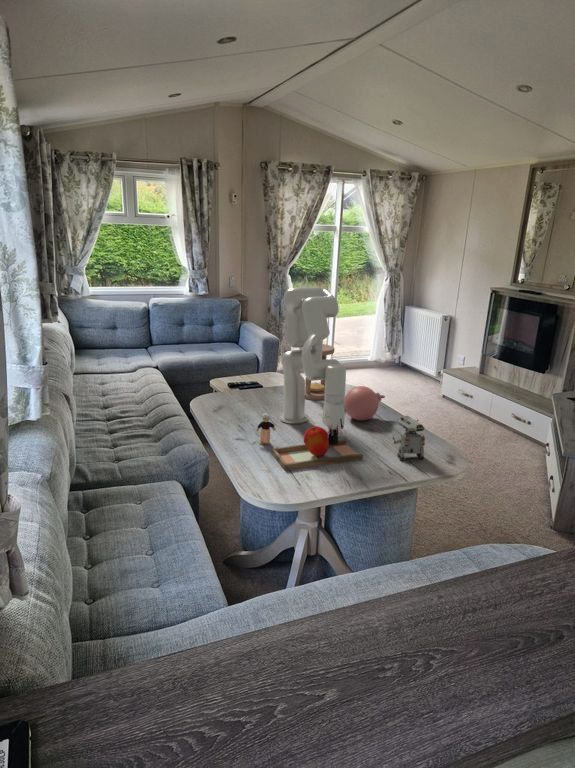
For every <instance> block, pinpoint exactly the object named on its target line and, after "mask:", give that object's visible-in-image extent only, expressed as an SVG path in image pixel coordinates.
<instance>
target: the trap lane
mask: <svg viewBox="0 0 575 768" xmlns="http://www.w3.org/2000/svg"><path fill="white" fill-rule="evenodd" d="M347 442H348V441H347V439H346V438H344V439H338V444H336V445H330V444H329V446H328V451H327V452H326V454H325V455H323V456H320V457H319V456H315V455H313V454H311V453H310V452H309V450H308V449H307V448H306V446H305V443H304V444H296V445H288V446H281V447H273V448H271V455H272V456H273V457H274V459H275V460H276V461H277V462H278V464H279V465H280V466H281V468H282V469H283V471H285V472H286V471H293V470H298V469H299V470H300V469H306V468H313V467H319V466H326V465H334V464H341V463H346V462H348V463H349V462H354V461H361V460H363V459H364V454H363V452H360V453H357V452H356V451H355V450H354V449H352V448H351V447H350V446H349V445H347Z"/></svg>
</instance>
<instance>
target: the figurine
mask: <svg viewBox="0 0 575 768" xmlns="http://www.w3.org/2000/svg"><path fill="white" fill-rule="evenodd" d="M397 424H398V426H400V427H402V428H404V429H405V430H404V431H405V432H404V433H401V434H400V439H398V440H396V439H395V436H394V435H393V436H392V440H393V444H394V445H397V444H400V445H399V447H398V451H397V455H396V456H397V458H398V459H399V461H405V454H407V455H408V454H410V455H414V454H416V456H417V457H418V458H419V460H424V459H425V456H424V454H425V449H424V447H425V445H426V444H425V443H426V442H425V440H426V438H425V437H426V436H425V435H424V434H423V433H421V434H419V433H418V432H424V431H425V427H424V425H423V424H421V423H420V422H419V419H417V420H416V419H414V418H412V417H411V416H410V415H402V416H401V418H399V419H398V421H397Z"/></svg>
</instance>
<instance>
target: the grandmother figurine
mask: <svg viewBox="0 0 575 768" xmlns="http://www.w3.org/2000/svg"><path fill="white" fill-rule="evenodd" d="M261 419H262V421H261V422H260V423H259V424H258V425H257V427H256V429H255V430H256V432H259V430H260V437H259V442H258V445H264V444H265V445H270V444H271V442H270V440H271V429H272V430H273V431H276V427H275V424H274V423H272V422H271V421H270V419H271V416H270V414H269V413H267V412H265V413H263V414H262V416H261ZM270 428H271V429H270Z"/></svg>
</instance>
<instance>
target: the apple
mask: <svg viewBox="0 0 575 768" xmlns="http://www.w3.org/2000/svg"><path fill="white" fill-rule="evenodd" d="M328 438H329V433H328V431H326V430H325V428H322V427H320V426H311V427H310V428H307V430H305V433H303V443H304V444H305V446H306V448H307V449H308V450H309V452H310V453H311V454H313V455H315V456H319V457H320V456H323V455H325V454H326V452H327V451H328V446H329V439H328Z"/></svg>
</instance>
